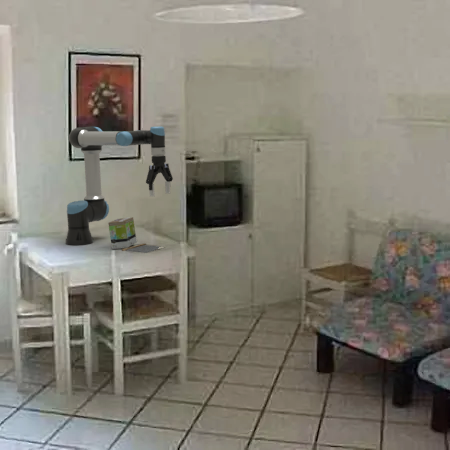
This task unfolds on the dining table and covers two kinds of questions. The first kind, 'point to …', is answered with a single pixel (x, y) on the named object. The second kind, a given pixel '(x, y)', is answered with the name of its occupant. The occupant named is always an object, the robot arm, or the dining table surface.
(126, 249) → the oak strip
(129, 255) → the dining table surface
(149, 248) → the mat
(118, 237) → the tea box
